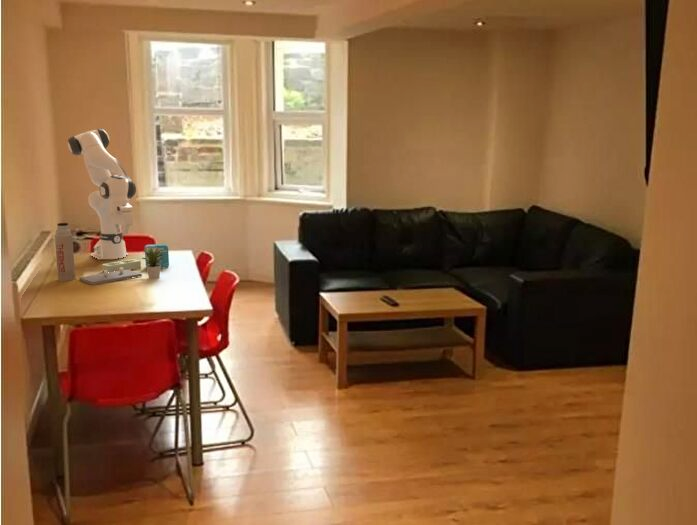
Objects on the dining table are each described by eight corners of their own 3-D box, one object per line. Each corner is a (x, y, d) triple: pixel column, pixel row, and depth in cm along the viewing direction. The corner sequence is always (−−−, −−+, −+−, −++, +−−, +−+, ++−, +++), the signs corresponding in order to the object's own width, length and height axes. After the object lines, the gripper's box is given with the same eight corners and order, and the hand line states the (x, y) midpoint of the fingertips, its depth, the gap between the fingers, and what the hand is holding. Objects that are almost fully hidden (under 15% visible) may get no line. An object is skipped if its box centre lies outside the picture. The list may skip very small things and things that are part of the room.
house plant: (160, 282, 348) (158, 249, 344) (134, 280, 351) (132, 248, 347) (173, 276, 362) (171, 244, 358) (147, 274, 364) (146, 243, 361)
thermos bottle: (66, 281, 348) (61, 224, 342) (54, 279, 351) (50, 223, 346) (79, 278, 355) (74, 222, 349) (67, 276, 358) (63, 221, 353)
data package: (145, 268, 378) (144, 246, 376) (145, 266, 383) (144, 244, 380) (169, 267, 382) (168, 245, 379) (168, 265, 386) (167, 243, 383)
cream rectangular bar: (134, 266, 383) (133, 259, 383) (140, 268, 379) (140, 260, 378) (102, 271, 370) (101, 264, 369) (108, 273, 366) (108, 266, 365)
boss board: (79, 280, 350) (78, 271, 350) (127, 272, 369) (126, 263, 368) (93, 285, 341) (92, 276, 340) (141, 276, 360) (141, 267, 359)
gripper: (105, 205, 375) (108, 231, 377) (122, 208, 359) (124, 235, 362) (117, 204, 379) (119, 230, 381) (134, 207, 363) (136, 234, 366)
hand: (122, 233), depth 371 cm, fingers open, 8 cm apart
